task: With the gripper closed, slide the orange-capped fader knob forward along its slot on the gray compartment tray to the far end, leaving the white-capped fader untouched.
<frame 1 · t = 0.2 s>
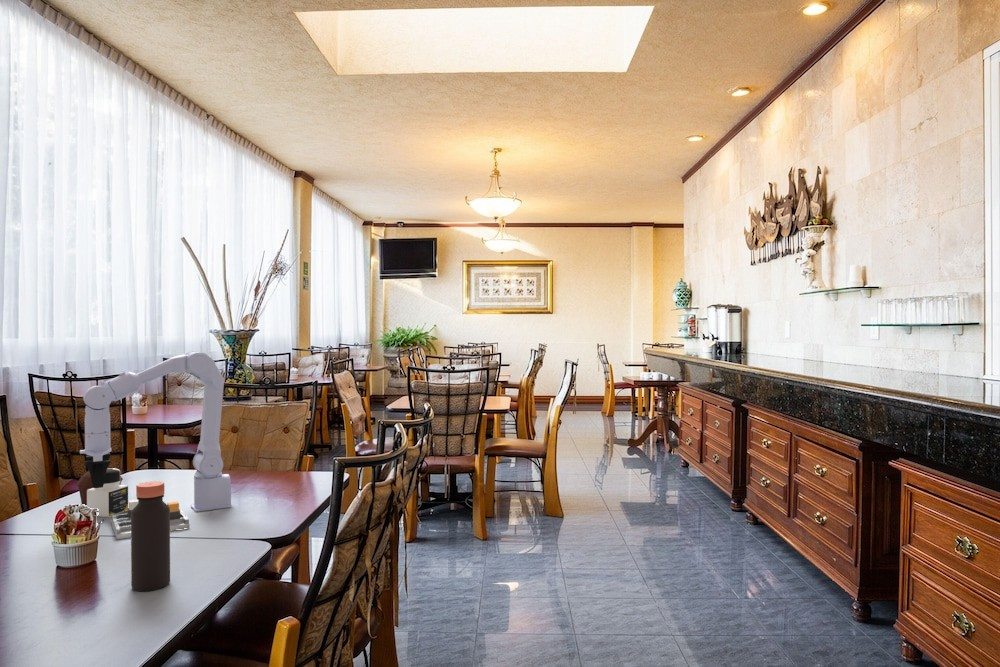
hand: (98, 484, 176), 10 cm above the table, tool pointing down, fingers open, 7 cm apart
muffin: (100, 504, 196), on the table
white fader: (134, 509, 176), point 4 cm above the table, slide at 8.0 cm
medicine bottle: (107, 514, 186), on the table
gray compartment tray: (149, 525, 175), on the table
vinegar: (151, 586, 134), on the table
orange fader: (173, 511, 174), point 4 cm above the table, slide at 0.0 cm
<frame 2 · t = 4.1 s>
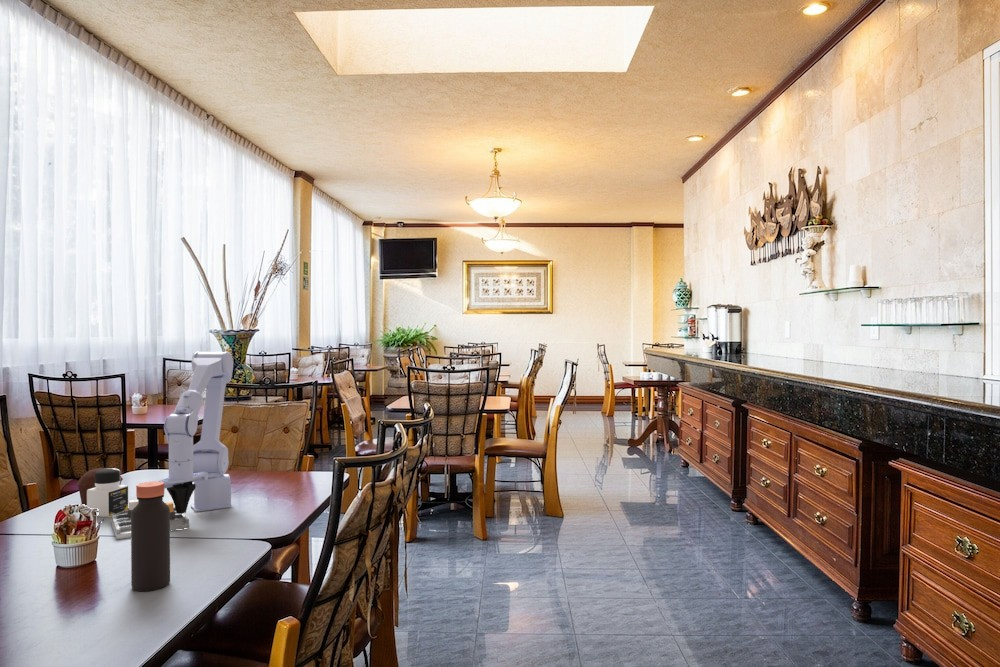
hand: (181, 512, 175), 3 cm above the table, tool pointing down, fingers closed
orange fader: (167, 512, 173), point 4 cm above the table, slide at 1.3 cm, touching gripper
everything else where it was.
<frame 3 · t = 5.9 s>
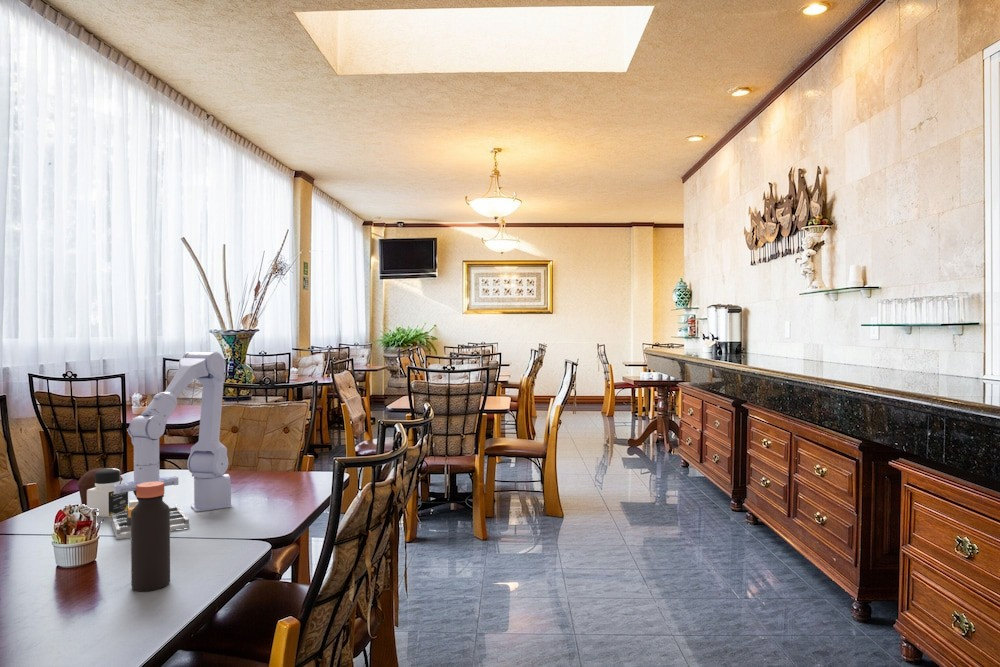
hand: (147, 517, 171), 3 cm above the table, tool pointing down, fingers closed
orange fader: (134, 517, 169), point 4 cm above the table, slide at 8.8 cm, touching gripper
everything else where it was.
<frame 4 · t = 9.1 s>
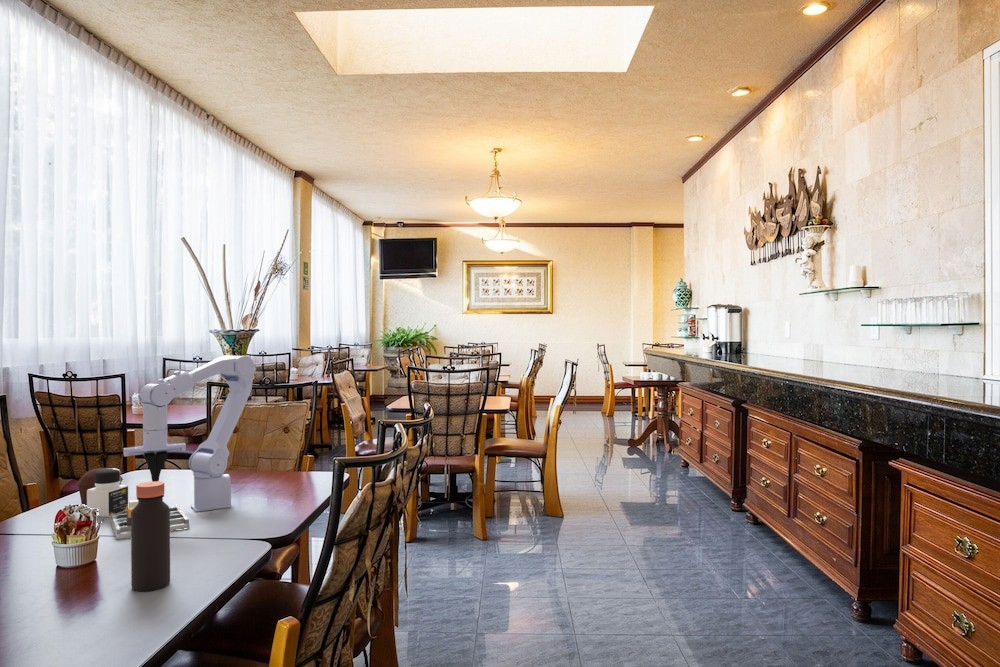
hand: (155, 480, 179), 10 cm above the table, tool pointing down, fingers closed
orange fader: (134, 517, 169), point 4 cm above the table, slide at 8.8 cm
everything else where it was.
at the end: orange fader slide at 8.8 cm; white fader slide at 8.0 cm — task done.
